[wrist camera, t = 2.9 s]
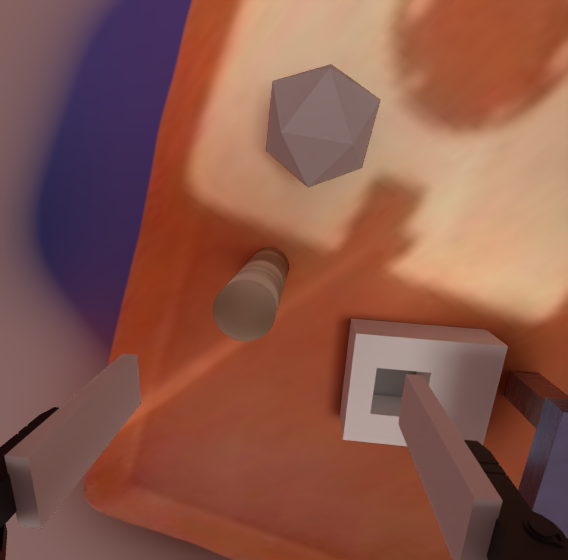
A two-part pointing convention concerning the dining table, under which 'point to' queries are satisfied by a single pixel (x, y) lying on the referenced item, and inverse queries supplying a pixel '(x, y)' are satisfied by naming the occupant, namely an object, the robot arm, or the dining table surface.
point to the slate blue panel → (544, 445)
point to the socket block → (418, 361)
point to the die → (320, 124)
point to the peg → (252, 296)
